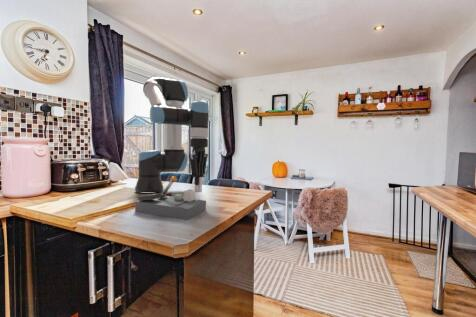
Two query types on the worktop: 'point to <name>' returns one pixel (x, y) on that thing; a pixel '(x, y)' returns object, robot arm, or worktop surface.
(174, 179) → the lever
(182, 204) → the grey rectangular base
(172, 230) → the worktop surface
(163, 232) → the worktop surface
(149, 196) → the rocker
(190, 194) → the slider
